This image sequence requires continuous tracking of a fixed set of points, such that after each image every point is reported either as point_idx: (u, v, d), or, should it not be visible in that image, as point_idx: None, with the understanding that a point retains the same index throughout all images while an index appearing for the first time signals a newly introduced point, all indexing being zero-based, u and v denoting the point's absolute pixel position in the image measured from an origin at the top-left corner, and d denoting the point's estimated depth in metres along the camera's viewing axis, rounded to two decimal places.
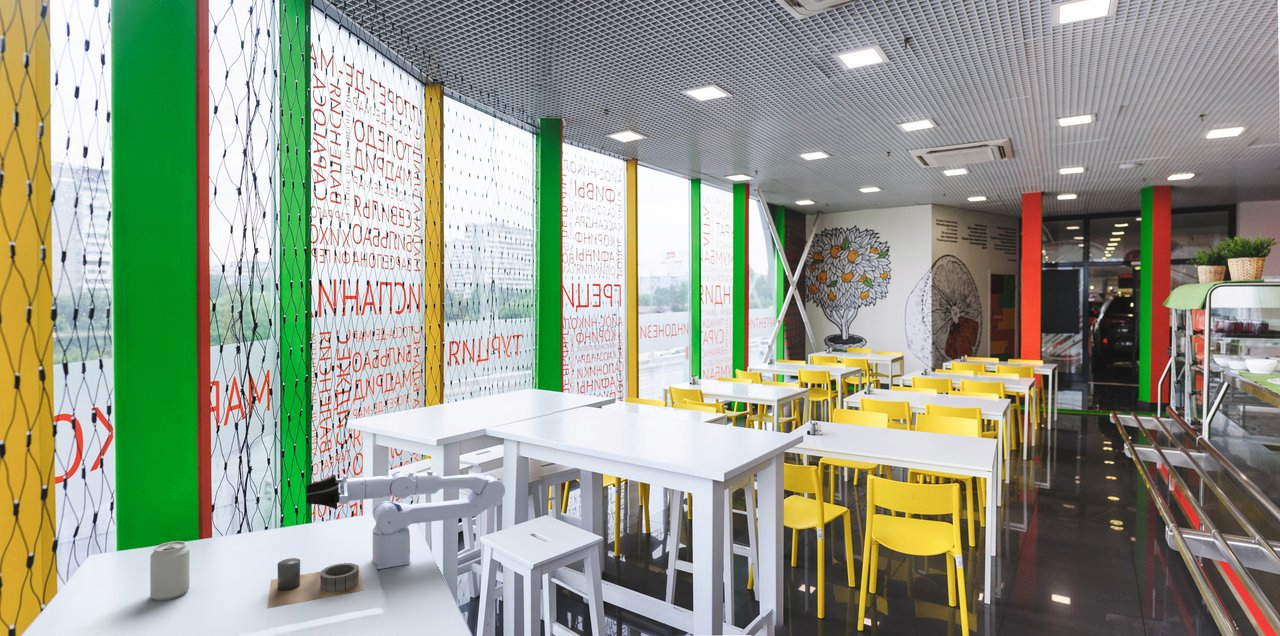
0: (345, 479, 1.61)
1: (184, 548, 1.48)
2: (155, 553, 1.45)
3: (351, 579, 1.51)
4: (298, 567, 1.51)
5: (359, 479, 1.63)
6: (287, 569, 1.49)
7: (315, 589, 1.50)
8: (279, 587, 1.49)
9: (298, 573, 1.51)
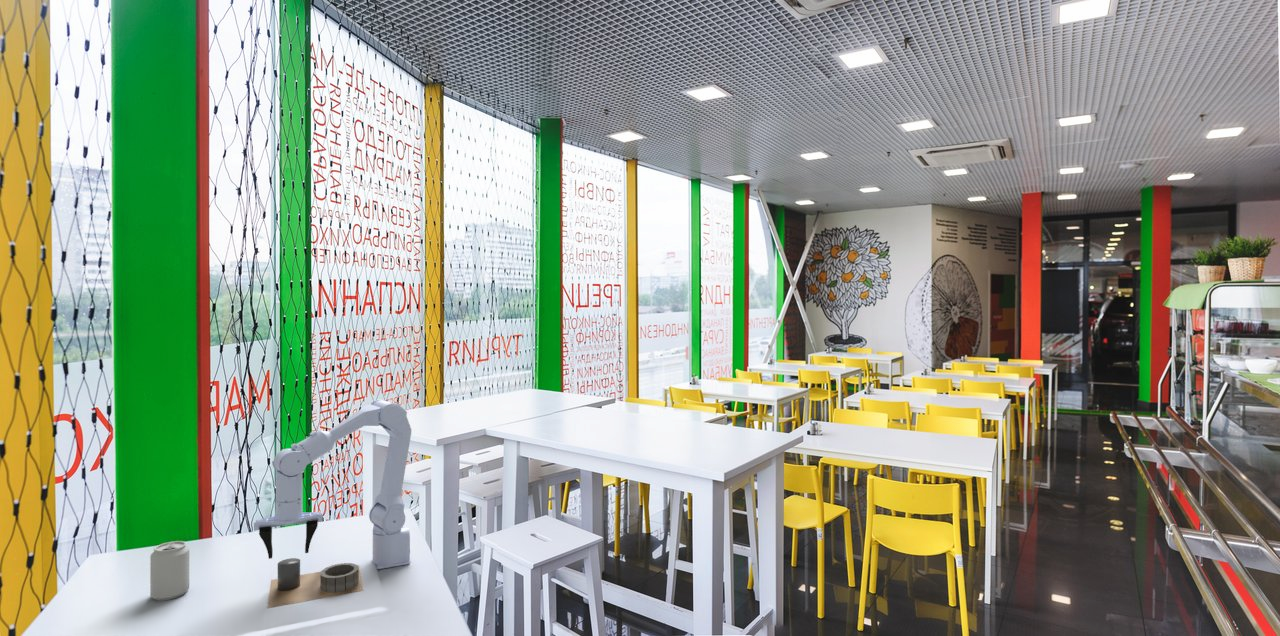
0: (293, 521, 1.48)
1: (184, 548, 1.48)
2: (155, 553, 1.45)
3: (351, 579, 1.51)
4: (298, 567, 1.51)
5: (291, 507, 1.48)
6: (287, 569, 1.49)
7: (315, 589, 1.50)
8: (279, 587, 1.49)
9: (298, 573, 1.51)
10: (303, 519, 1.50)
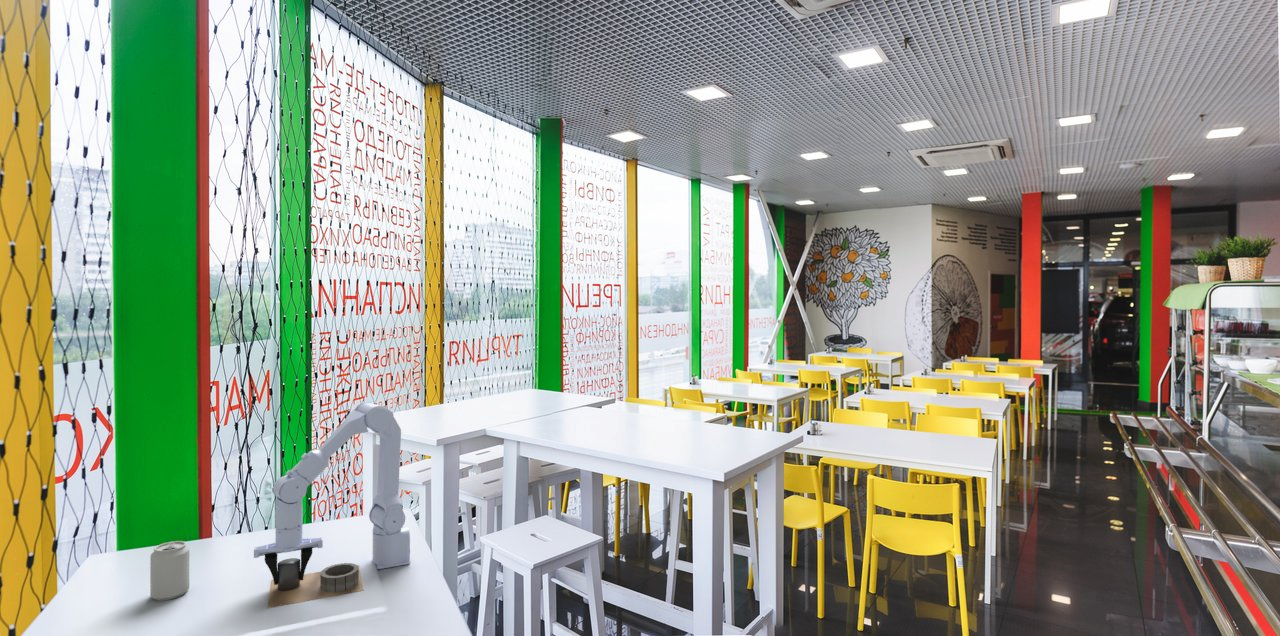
0: (293, 548, 1.48)
1: (184, 548, 1.48)
2: (155, 553, 1.45)
3: (351, 579, 1.51)
4: (298, 567, 1.51)
5: (291, 534, 1.48)
6: (287, 569, 1.49)
7: (315, 589, 1.50)
8: (279, 587, 1.49)
9: (298, 573, 1.51)
10: (303, 546, 1.50)
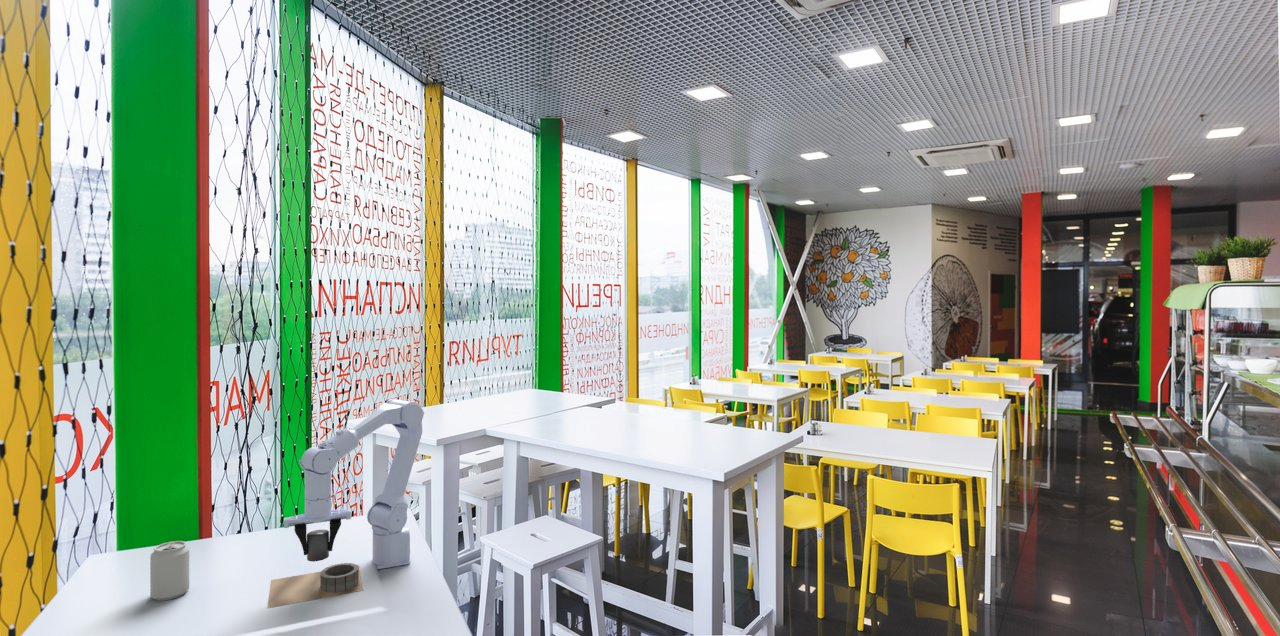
0: (323, 519, 1.49)
1: (184, 548, 1.48)
2: (155, 553, 1.45)
3: (351, 579, 1.51)
4: (327, 538, 1.52)
5: (320, 505, 1.49)
6: (317, 539, 1.49)
7: (315, 589, 1.50)
8: (309, 557, 1.50)
9: (327, 544, 1.52)
10: (332, 517, 1.51)
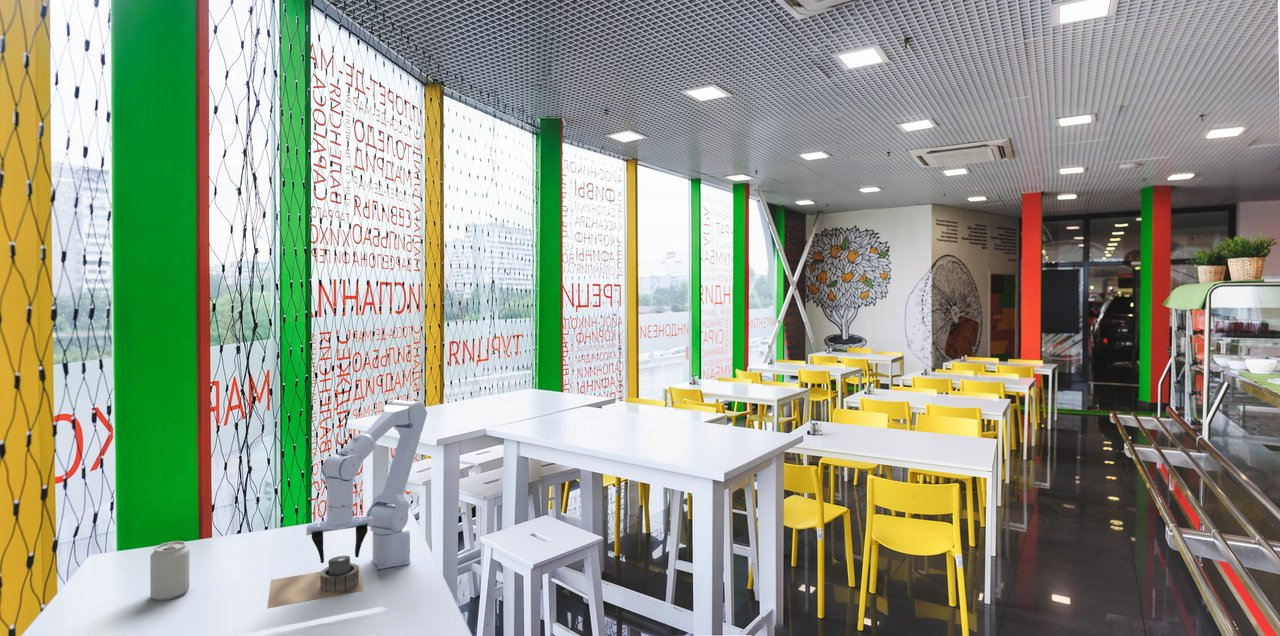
0: (345, 526, 1.50)
1: (184, 548, 1.48)
2: (155, 553, 1.45)
3: (351, 579, 1.51)
4: (348, 563, 1.52)
5: (343, 512, 1.50)
6: (338, 565, 1.50)
7: (315, 589, 1.50)
8: None
9: (349, 569, 1.52)
10: (354, 524, 1.52)
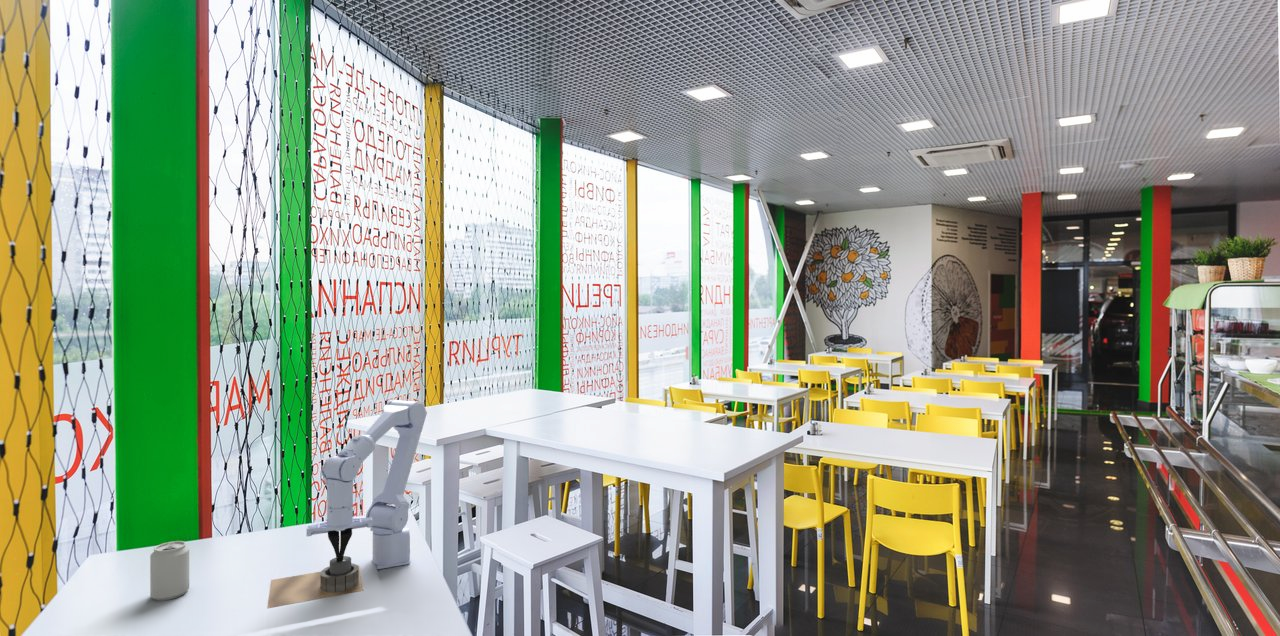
0: (345, 527, 1.50)
1: (184, 548, 1.48)
2: (155, 553, 1.45)
3: (351, 579, 1.51)
4: (349, 565, 1.52)
5: (343, 513, 1.50)
6: (338, 567, 1.50)
7: (315, 589, 1.50)
8: None
9: (349, 571, 1.52)
10: (354, 525, 1.52)
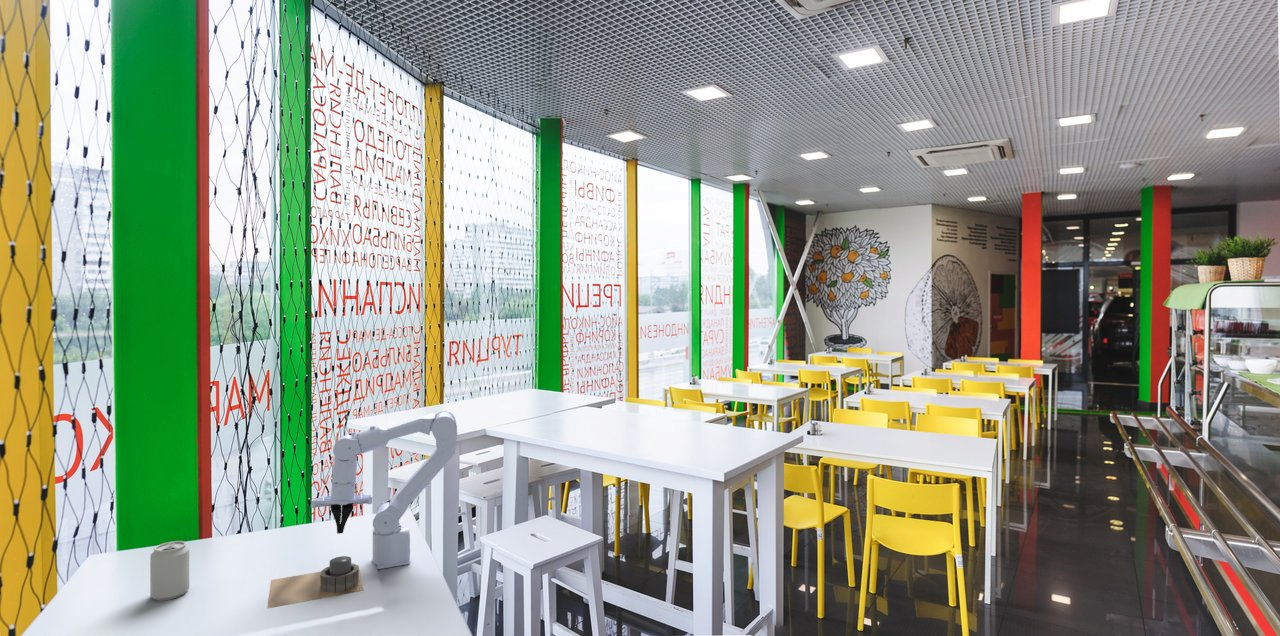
0: (347, 502, 1.62)
1: (184, 548, 1.48)
2: (155, 553, 1.45)
3: (351, 579, 1.51)
4: (349, 565, 1.52)
5: (346, 488, 1.62)
6: (338, 567, 1.50)
7: (315, 589, 1.50)
8: None
9: (349, 571, 1.52)
10: (355, 500, 1.64)
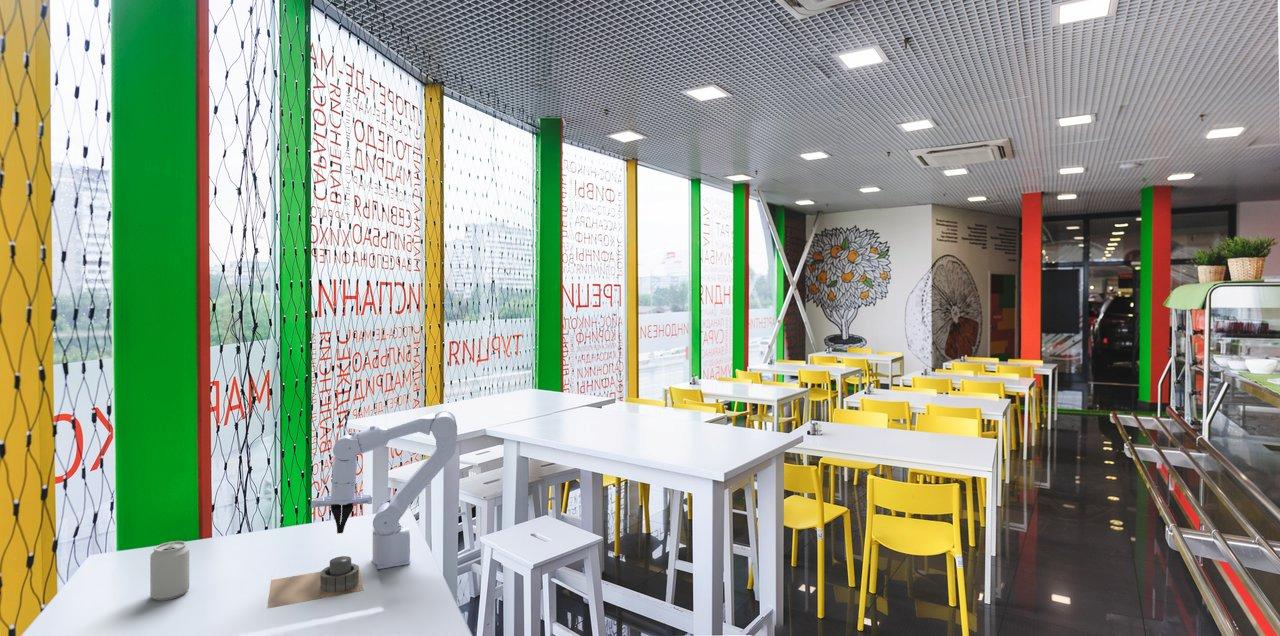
0: (347, 502, 1.62)
1: (184, 548, 1.48)
2: (155, 553, 1.45)
3: (351, 579, 1.51)
4: (349, 565, 1.52)
5: (346, 488, 1.62)
6: (338, 567, 1.50)
7: (315, 589, 1.50)
8: None
9: (349, 571, 1.52)
10: (355, 500, 1.64)
